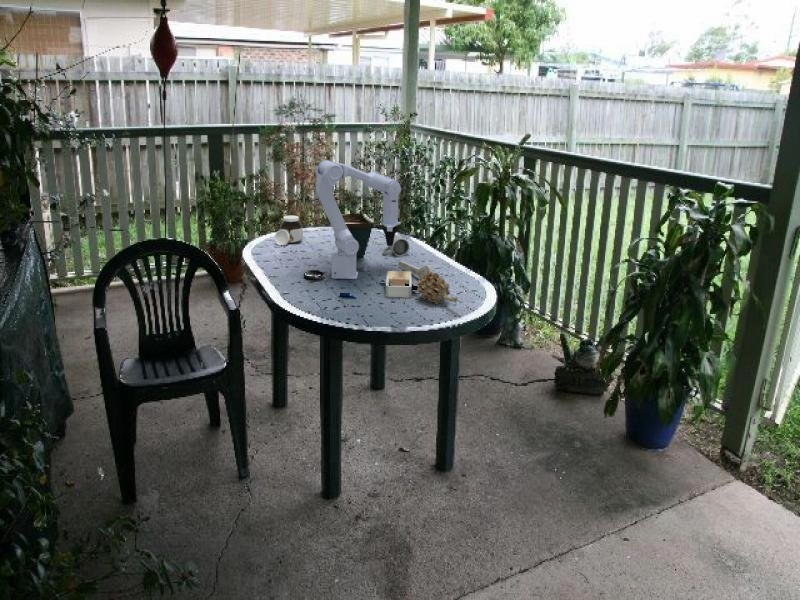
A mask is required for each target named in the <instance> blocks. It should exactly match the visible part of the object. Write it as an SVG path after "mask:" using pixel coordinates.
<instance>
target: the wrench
mask: <svg viewBox="0 0 800 600" xmlns="http://www.w3.org/2000/svg"><path fill="white" fill-rule="evenodd" d="M398 268H399V269H401V270H403V271H411V275H415V276H418V278H419V279H420V278H421V276H422V275H424V273H427V272H432V273H433V274H434V273H435V271H434V267H433V266H432V265H428V264H427V265H424V266H423V267H418V266H416V265H414V264H412V263H409V262H407V261H403V260H401V261H399V262H398Z"/></svg>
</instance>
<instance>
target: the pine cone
mask: <svg viewBox="0 0 800 600" xmlns="http://www.w3.org/2000/svg"><path fill="white" fill-rule="evenodd" d="M417 282H418V283H417V286H418V287H417V290H416V291H417V292H418V293H419V294H421V297H422V298H423V299H425V300H426V299H427V301H428V302H430V303H432V302H434V304H435V305H439V304H440V303H441V302H442V303H443V302H444V301H448V302H453V303H457V301H458V296H455V297H451V296H449V295H450V290H449V288H450V285H449V284H448V283H447V282H446V281H445V279H444V278H443V277H440V275H439V273H437V272H434V274H433V273H432V272H427V273H424V275H422V276H421V278H420V277H419V279H418V281H417Z"/></svg>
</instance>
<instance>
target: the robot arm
mask: <svg viewBox="0 0 800 600" xmlns="http://www.w3.org/2000/svg"><path fill="white" fill-rule="evenodd" d="M315 172H316V174H315V175H316V182H315V193H316V194H317V196H318V199H319V201H320V204H321V205H322V207H323V208H322V209H324V212H325V215H326V217H327V218H328V221H329V224H330V225H331V228H332V230H333V236H334V244H335V247H336V248H337V252H336V253H335V252H334V253H332V254H331V279H341V280H342V279H343V280H345V279H347V280H357V279H358V275H359V271H357V253H358V251H359V249H360V244H359V242H358V240H356V239H355V238H354V236H353V234H352V233H351V231H350V230H349V228H348V226H347V223H346V222H345V219H344V217H343V215H342V213H341V211H340V208H339V205H338V203H337V201H336V198H335V196H334V194H333V192H332V191H333V189H334V186H335V185H336V184H337V183H338V182H339V181H340V180H341V179H344V178H348V177H351V178H353V179H357V180H359V181H362V182H364V183H365V185H366V187H368V188H370V189H373V190H376V191H379V192H382V194H383V198H382V222H381V224H382V225H383V227H382V231H383V233H384V236H385V241H386V246H387V247H388V246H393V242H394V237H395V236H396V233H397V232H398V225H401V224H402V222H401V221H398V219H399V195H400V194H401V191H402V187H401V184H400V183H399V181H398V180H396V179H392V178H390V176H388V175H386V176H385V175H382V174H380V172H379V171H376V170H375V171H370V172H368V173H366V172H364V171H362V170H360V169H357V168H355V167H352V166H350V165H347V164H344V163H340V162H336V161H333V162H332V161H331V160H328V159H325V160H322V161H321V162H320V163H319V164H318V167H317V168H316V170H315Z"/></svg>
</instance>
